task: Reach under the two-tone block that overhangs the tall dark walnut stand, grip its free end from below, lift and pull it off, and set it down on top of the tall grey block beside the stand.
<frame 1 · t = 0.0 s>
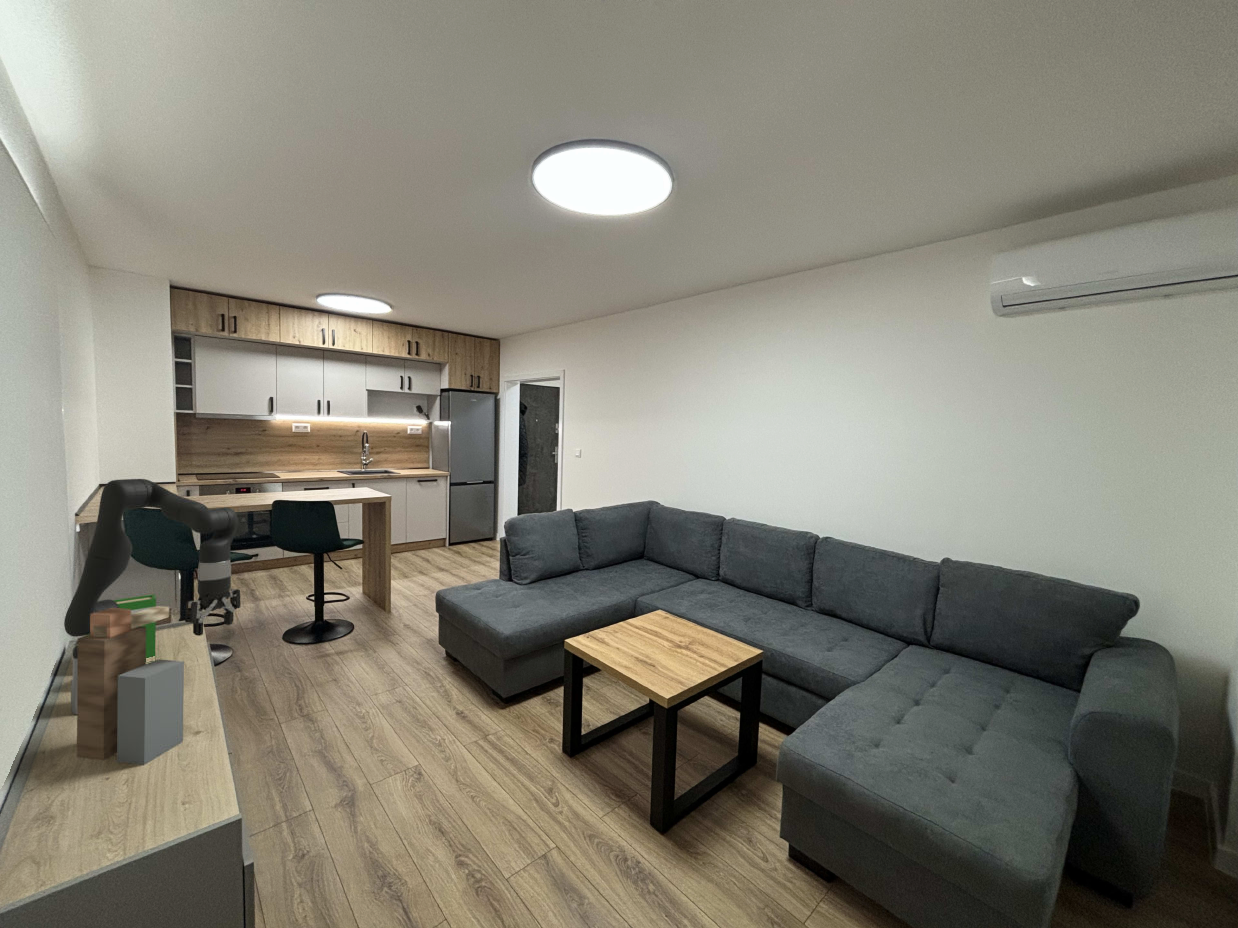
hand: (213, 629, 141), 29 cm above the tv stand, tool pointing down, fingers open, 8 cm apart
tall grey block: (151, 751, 130), on the tv stand
two-tone block: (133, 625, 135), point 32 cm above the tv stand, touching tall stand
tall stand: (112, 746, 131), on the tv stand
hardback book: (121, 664, 178), on the tv stand
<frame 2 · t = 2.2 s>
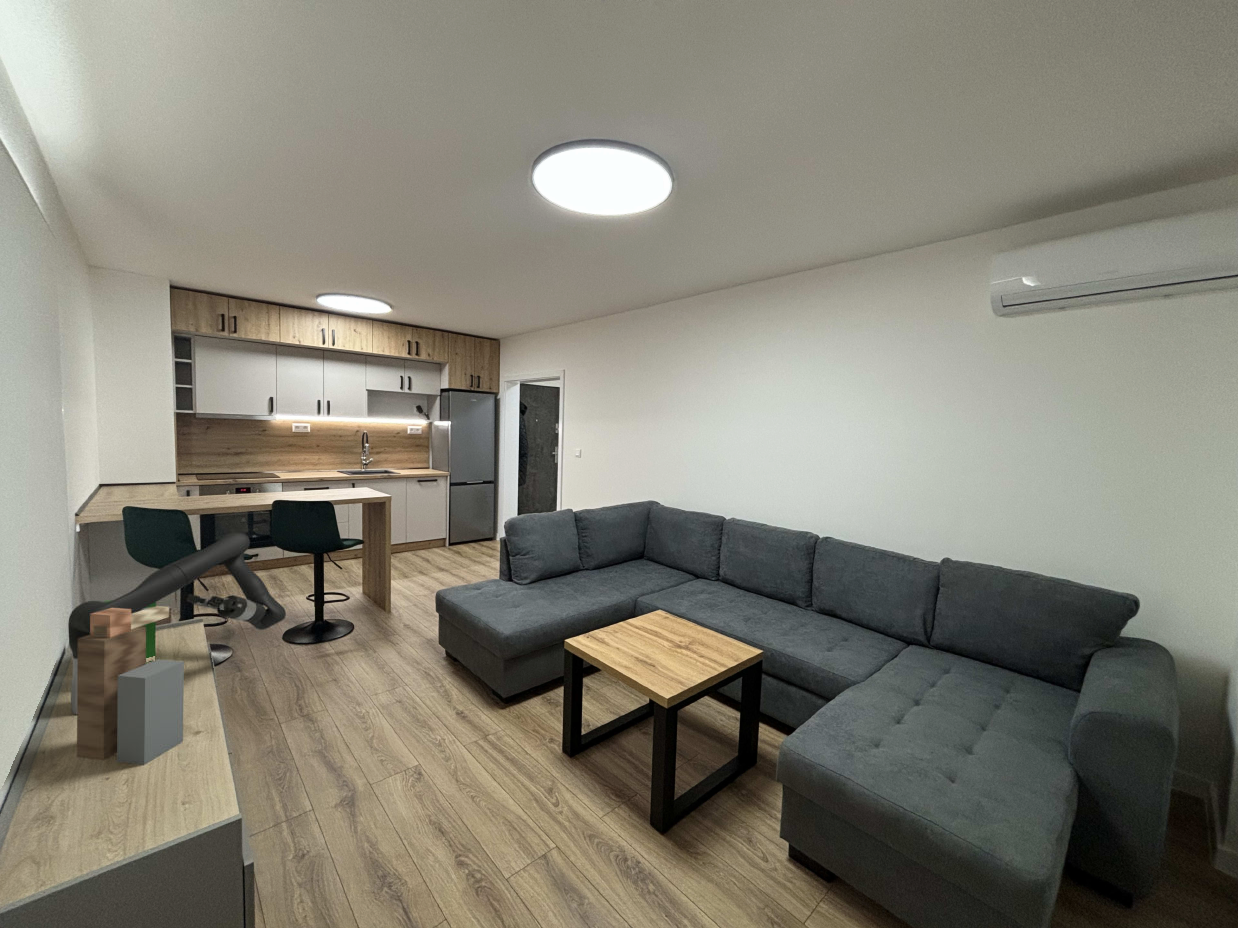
hand: (200, 598, 158), 33 cm above the tv stand, tool pointing upward, fingers open, 8 cm apart
nothing on the tv stand moved.
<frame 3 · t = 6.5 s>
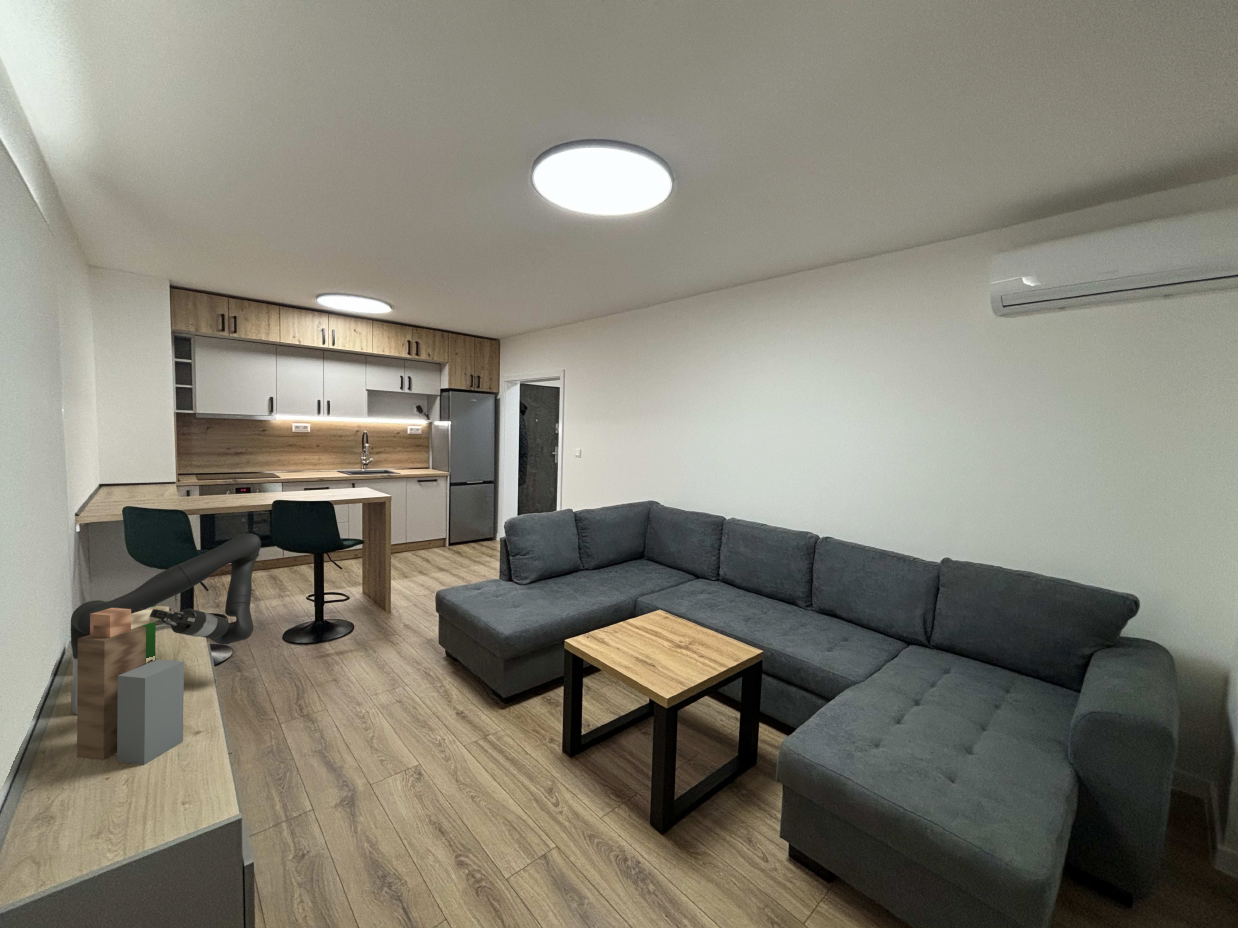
hand: (145, 612, 138), 35 cm above the tv stand, tool pointing upward, fingers closed on two-tone block, 4 cm apart
two-tone block: (133, 625, 135), point 32 cm above the tv stand, touching gripper, tall stand
everything else where it was.
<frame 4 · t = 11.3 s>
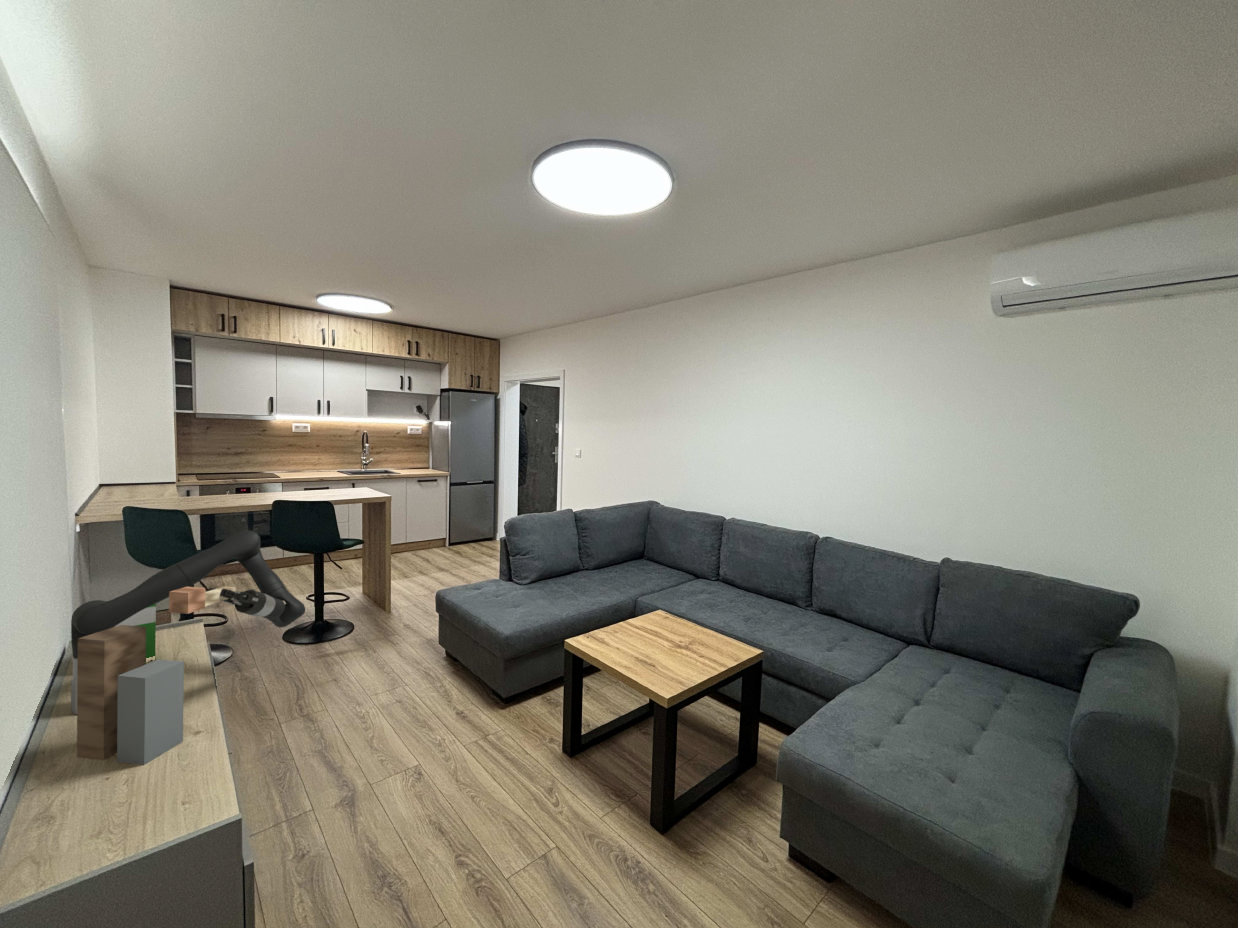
hand: (215, 591, 147), 39 cm above the tv stand, tool pointing upward, fingers closed on two-tone block, 4 cm apart
two-tone block: (205, 603, 144), point 36 cm above the tv stand, touching gripper
everything else where it was.
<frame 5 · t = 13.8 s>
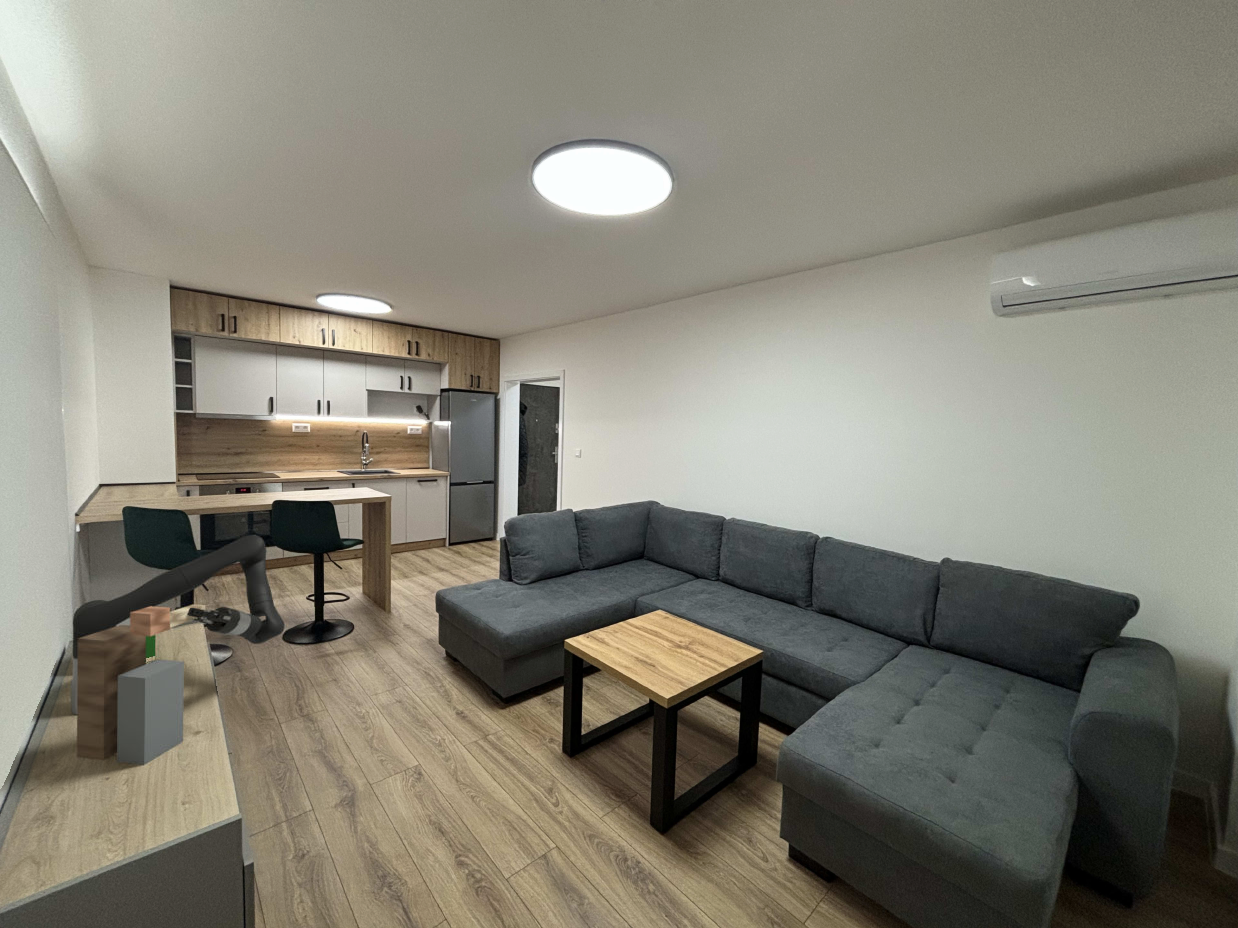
hand: (182, 610, 137), 36 cm above the tv stand, tool pointing upward, fingers closed on two-tone block, 4 cm apart
two-tone block: (171, 624, 134), point 33 cm above the tv stand, touching gripper
everything else where it was.
when the fingers open (27 cm above the tv stand, at t = 16.1 s): two-tone block stays where it is, resting on tall grey block.
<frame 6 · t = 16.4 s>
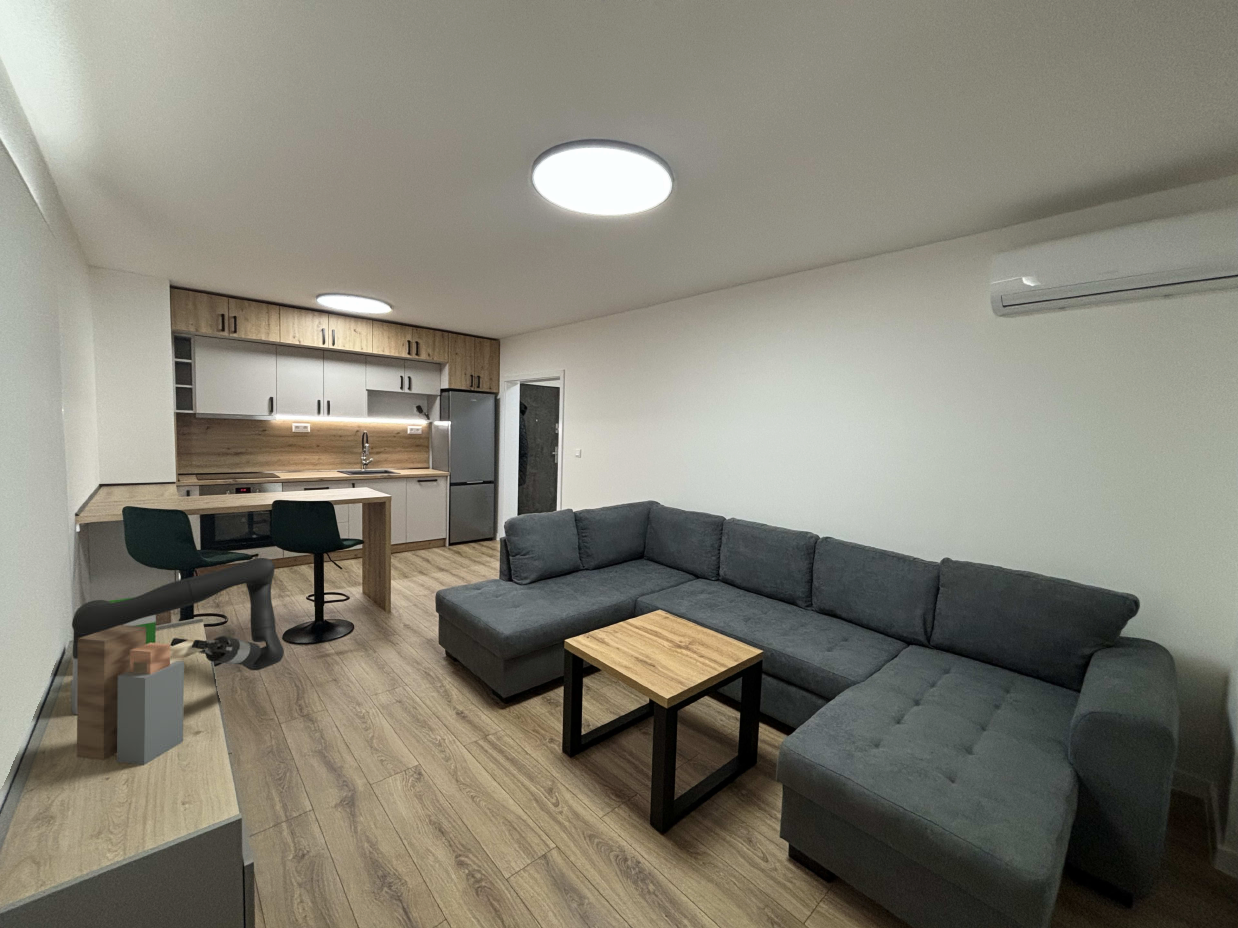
hand: (183, 642, 137), 27 cm above the tv stand, tool pointing upward, fingers open, 6 cm apart
two-tone block: (171, 660, 134), point 23 cm above the tv stand, touching tall grey block
everything else where it was.
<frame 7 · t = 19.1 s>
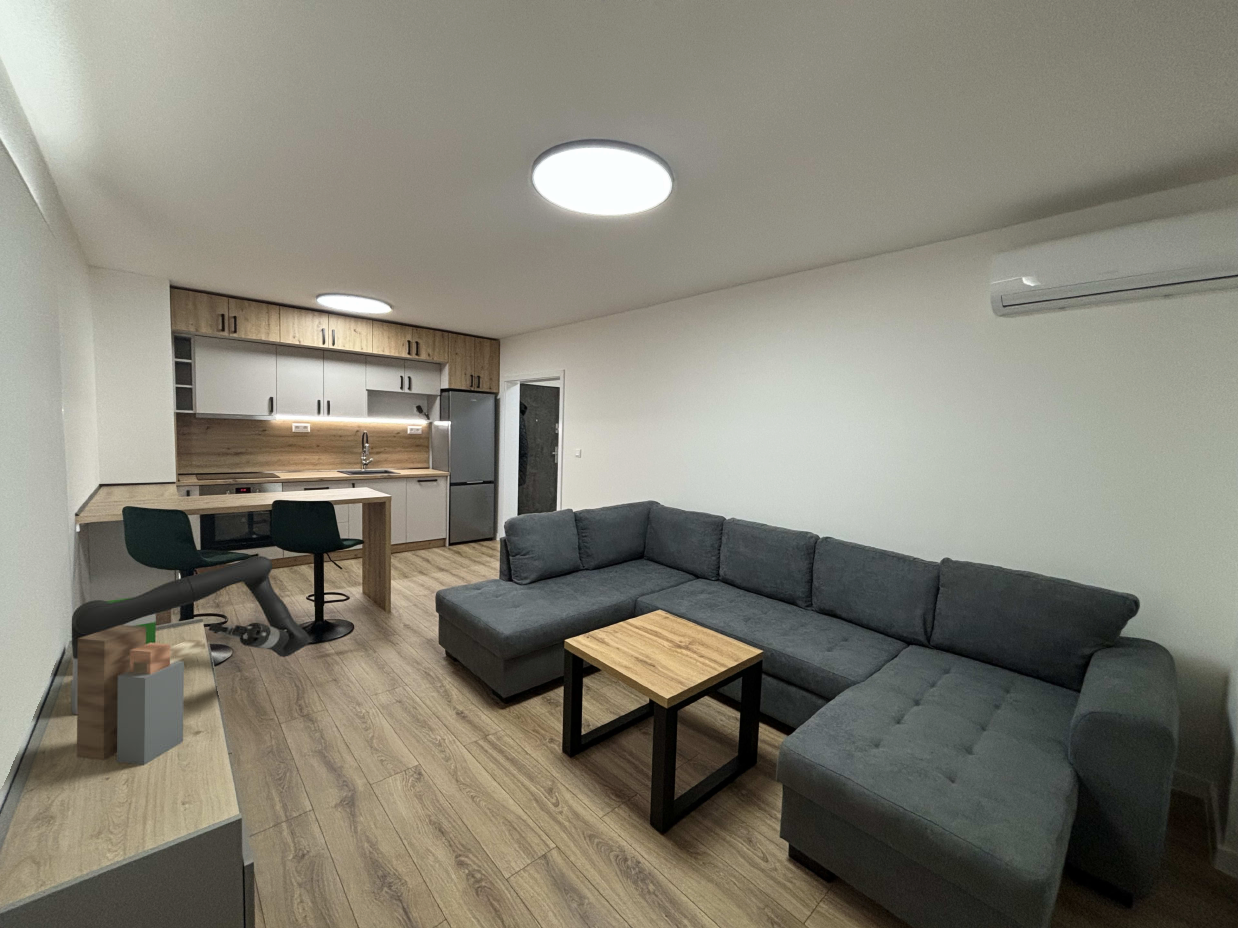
hand: (223, 627, 150), 26 cm above the tv stand, tool pointing upward, fingers open, 8 cm apart
nothing on the tv stand moved.
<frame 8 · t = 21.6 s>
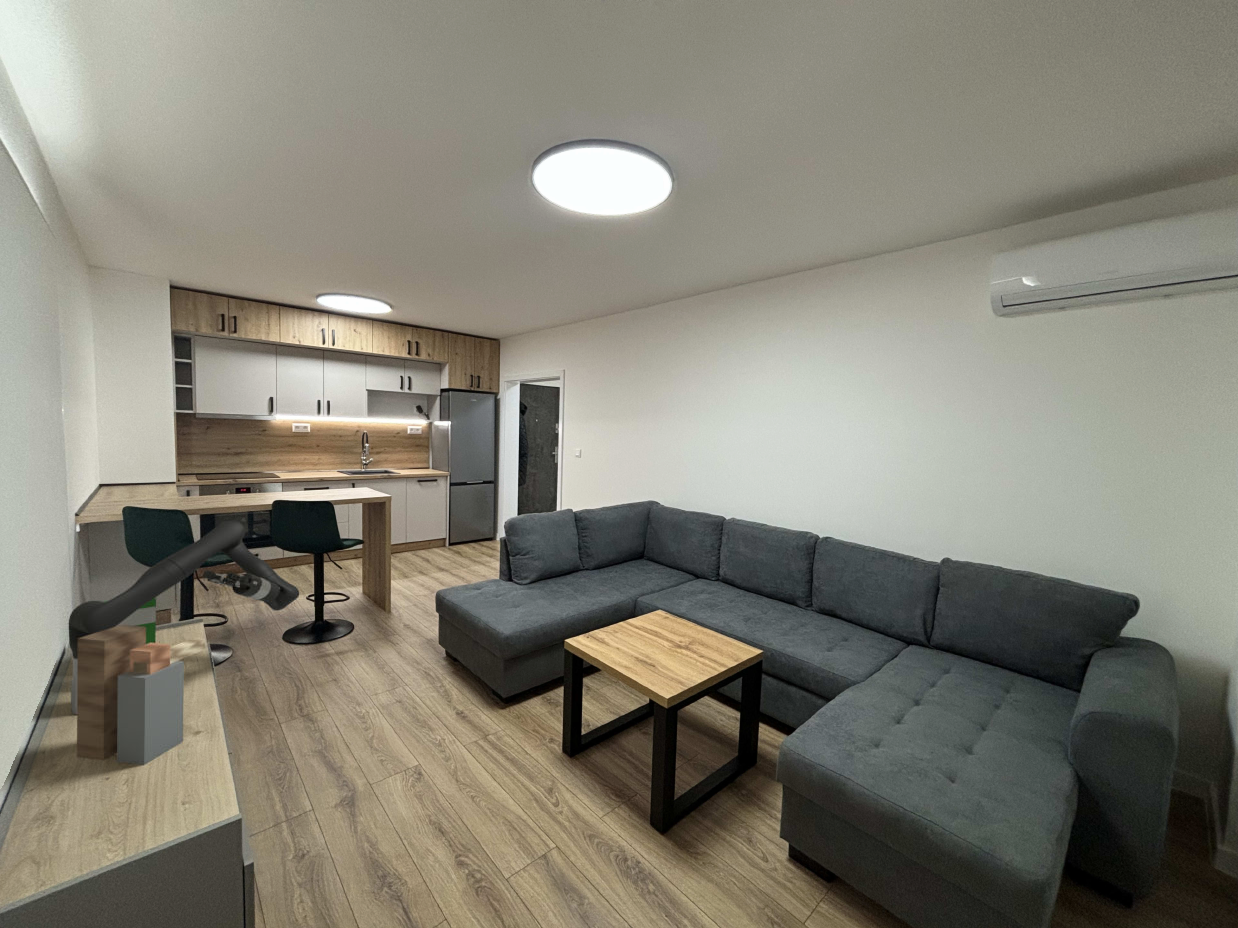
hand: (216, 574, 158), 41 cm above the tv stand, tool pointing upward, fingers open, 8 cm apart
nothing on the tv stand moved.
at the end: two-tone block inside the target area on the tall grey block (0.1 cm from its centre), point 23.0 cm above the tall grey block's base; the gripper is holding nothing; two-tone block tilted 0° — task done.
